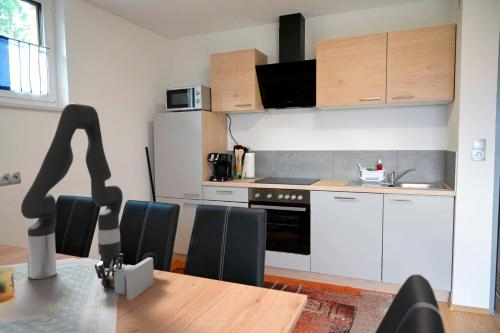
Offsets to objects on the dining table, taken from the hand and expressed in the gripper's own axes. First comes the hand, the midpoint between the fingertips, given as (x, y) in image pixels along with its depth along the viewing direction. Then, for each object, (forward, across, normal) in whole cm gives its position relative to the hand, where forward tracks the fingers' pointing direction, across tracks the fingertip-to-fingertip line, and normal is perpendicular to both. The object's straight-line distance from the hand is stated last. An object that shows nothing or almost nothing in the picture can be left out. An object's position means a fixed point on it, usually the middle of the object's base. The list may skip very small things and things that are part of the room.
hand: (110, 285), depth 124 cm
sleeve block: (+1, 0, +7) cm, 7 cm away
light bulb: (+1, -12, +9) cm, 15 cm away
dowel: (0, 0, +3) cm, 3 cm away
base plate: (+1, 0, +12) cm, 12 cm away
